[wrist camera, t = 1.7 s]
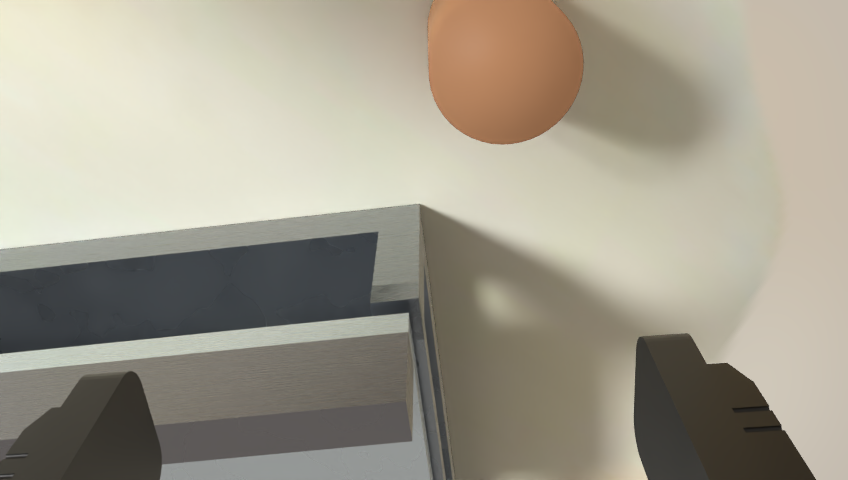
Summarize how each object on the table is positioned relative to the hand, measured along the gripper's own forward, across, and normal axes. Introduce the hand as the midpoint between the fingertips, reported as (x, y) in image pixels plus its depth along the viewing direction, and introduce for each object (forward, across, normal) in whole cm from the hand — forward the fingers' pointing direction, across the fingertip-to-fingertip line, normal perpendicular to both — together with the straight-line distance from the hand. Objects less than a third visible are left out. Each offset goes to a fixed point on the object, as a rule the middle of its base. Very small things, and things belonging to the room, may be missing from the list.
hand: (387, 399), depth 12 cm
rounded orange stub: (+16, -3, -3) cm, 16 cm away
